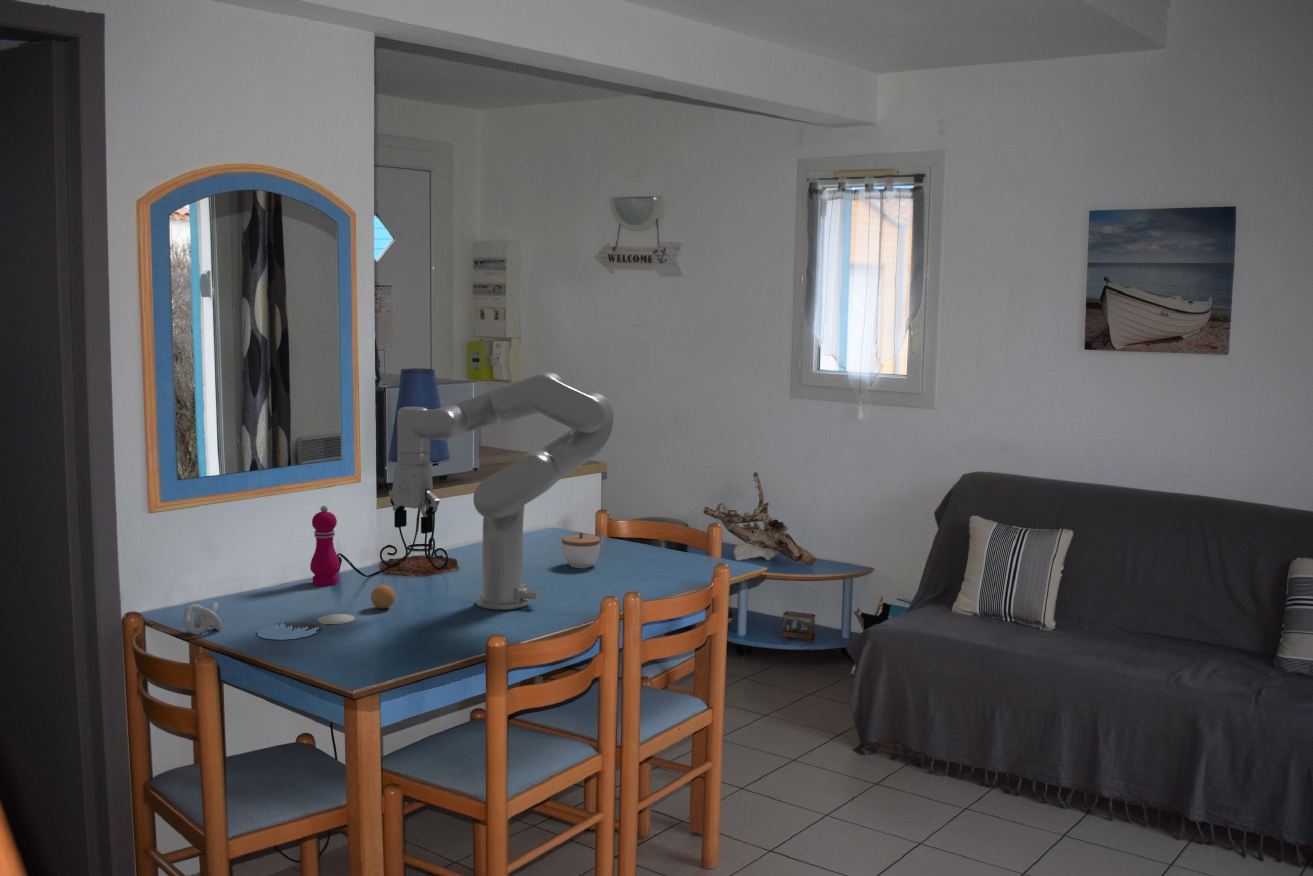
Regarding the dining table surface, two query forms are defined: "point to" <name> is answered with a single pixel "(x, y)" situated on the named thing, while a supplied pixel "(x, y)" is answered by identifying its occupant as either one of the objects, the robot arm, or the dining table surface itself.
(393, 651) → the dining table surface
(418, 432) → the robot arm
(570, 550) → the lidded jar
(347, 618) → the plain round gray disc
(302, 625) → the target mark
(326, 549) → the pepper mill
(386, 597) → the ball
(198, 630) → the knot
